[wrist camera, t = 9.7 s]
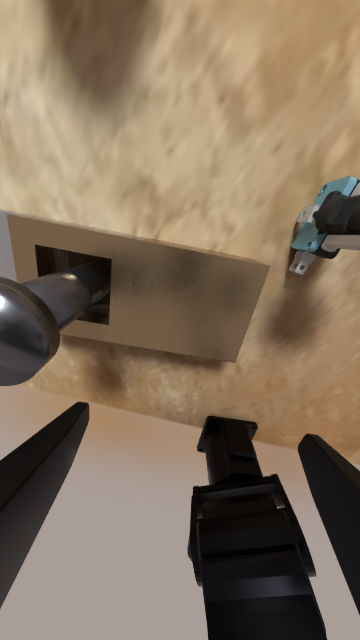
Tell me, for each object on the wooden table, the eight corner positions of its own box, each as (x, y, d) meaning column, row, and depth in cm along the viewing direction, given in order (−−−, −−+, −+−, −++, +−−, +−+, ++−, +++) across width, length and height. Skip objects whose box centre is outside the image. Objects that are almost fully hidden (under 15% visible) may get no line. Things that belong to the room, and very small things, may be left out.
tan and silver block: (225, 338, 20) (235, 362, 16) (-44, 293, 18) (-100, 308, 15) (251, 258, 17) (270, 266, 13) (-72, 194, 15) (-154, 181, 11)
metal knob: (121, 304, 19) (47, 392, 8) (74, 296, 18) (-62, 377, 8) (124, 257, 17) (35, 295, 7) (73, 247, 17) (-105, 271, 6)
